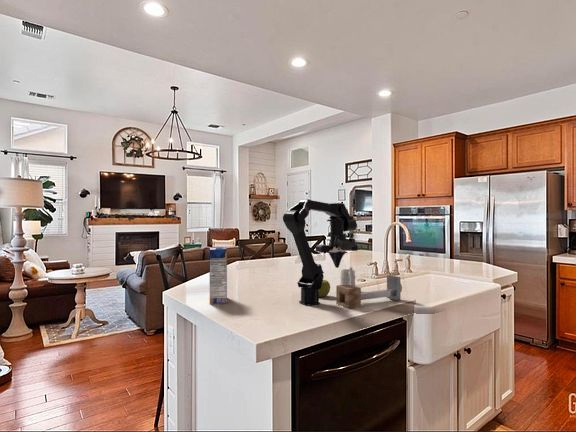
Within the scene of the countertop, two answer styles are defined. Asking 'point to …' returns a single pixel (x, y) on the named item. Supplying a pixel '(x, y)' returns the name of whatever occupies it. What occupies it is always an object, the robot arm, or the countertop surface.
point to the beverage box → (218, 275)
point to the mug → (348, 277)
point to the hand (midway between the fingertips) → (337, 267)
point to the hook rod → (391, 292)
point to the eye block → (348, 296)
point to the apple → (324, 289)
